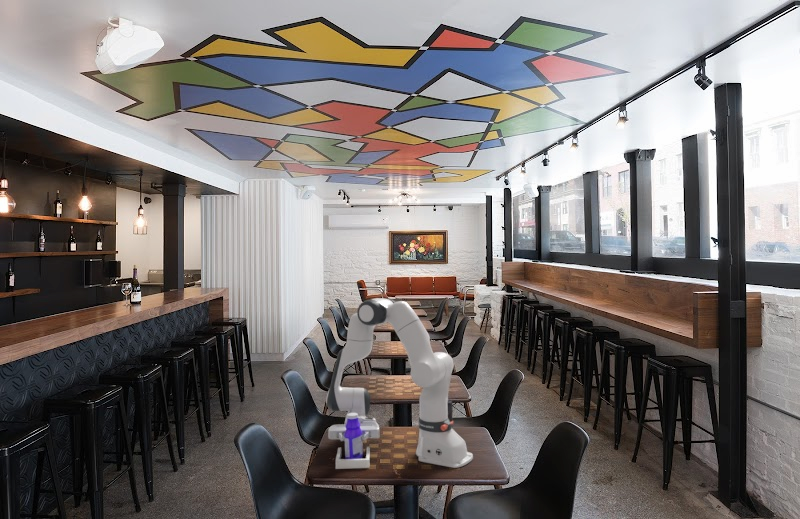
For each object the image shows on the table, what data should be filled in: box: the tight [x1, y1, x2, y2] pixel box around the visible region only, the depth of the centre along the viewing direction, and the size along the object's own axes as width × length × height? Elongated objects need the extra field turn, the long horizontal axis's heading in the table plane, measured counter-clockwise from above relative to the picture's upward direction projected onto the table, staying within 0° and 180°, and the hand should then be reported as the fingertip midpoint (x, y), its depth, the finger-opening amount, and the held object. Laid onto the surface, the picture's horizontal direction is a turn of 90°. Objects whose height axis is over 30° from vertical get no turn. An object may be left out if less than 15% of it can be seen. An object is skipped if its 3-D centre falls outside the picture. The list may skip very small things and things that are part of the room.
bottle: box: [344, 413, 364, 459], centre depth 184 cm, size 7×6×17 cm
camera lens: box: [448, 398, 454, 428], centre depth 210 cm, size 8×8×15 cm
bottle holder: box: [335, 446, 371, 470], centre depth 183 cm, size 12×12×3 cm
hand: (353, 439), depth 183 cm, fingers closed on bottle, 7 cm apart
